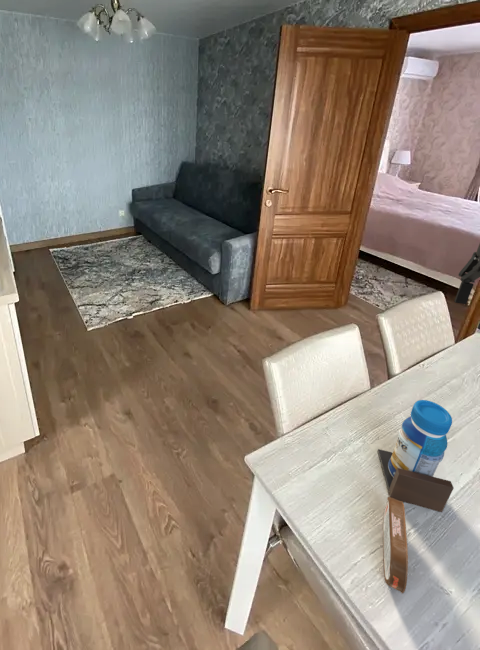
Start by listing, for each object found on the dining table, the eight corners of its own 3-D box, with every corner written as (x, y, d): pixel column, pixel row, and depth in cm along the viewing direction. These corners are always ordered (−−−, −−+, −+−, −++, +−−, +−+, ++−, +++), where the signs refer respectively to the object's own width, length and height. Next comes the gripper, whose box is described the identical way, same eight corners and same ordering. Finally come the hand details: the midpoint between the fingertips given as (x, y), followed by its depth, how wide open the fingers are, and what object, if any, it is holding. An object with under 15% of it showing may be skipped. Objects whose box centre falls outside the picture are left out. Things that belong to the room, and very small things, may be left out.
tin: (400, 604, 60) (414, 577, 57) (380, 593, 61) (391, 566, 58) (396, 519, 72) (407, 493, 69) (379, 511, 73) (388, 485, 70)
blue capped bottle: (427, 503, 74) (457, 437, 66) (383, 477, 79) (406, 413, 71) (431, 473, 80) (459, 409, 73) (390, 451, 85) (412, 389, 77)
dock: (377, 451, 86) (384, 428, 83) (422, 462, 84) (432, 439, 81) (389, 498, 76) (399, 474, 73) (442, 512, 73) (454, 488, 70)
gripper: (459, 227, 99) (437, 291, 107) (510, 262, 77) (477, 340, 85) (490, 230, 97) (465, 295, 105) (552, 267, 75) (514, 346, 83)
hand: (471, 315), depth 95 cm, fingers open, 13 cm apart
